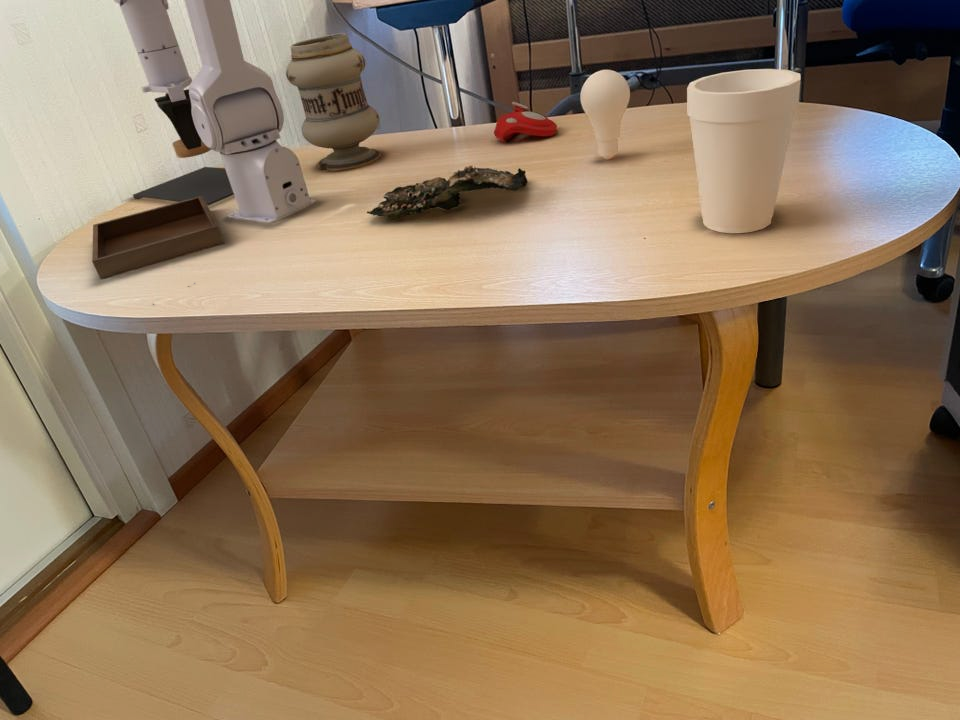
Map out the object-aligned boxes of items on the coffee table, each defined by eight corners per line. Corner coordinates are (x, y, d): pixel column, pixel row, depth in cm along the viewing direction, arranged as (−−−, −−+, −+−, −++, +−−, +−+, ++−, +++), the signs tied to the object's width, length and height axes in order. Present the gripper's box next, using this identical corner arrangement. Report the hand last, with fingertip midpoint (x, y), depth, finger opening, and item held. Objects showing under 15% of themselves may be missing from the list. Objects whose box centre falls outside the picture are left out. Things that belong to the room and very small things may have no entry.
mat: (282, 175, 109) (281, 172, 109) (209, 207, 100) (207, 203, 100) (206, 170, 120) (205, 166, 120) (134, 198, 111) (132, 194, 111)
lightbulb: (639, 152, 92) (636, 63, 86) (621, 167, 88) (617, 75, 82) (596, 151, 95) (591, 65, 90) (577, 165, 91) (570, 77, 85)
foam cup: (757, 246, 63) (766, 96, 56) (668, 230, 69) (666, 92, 62) (806, 211, 68) (820, 69, 61) (719, 198, 74) (723, 68, 67)
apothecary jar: (296, 170, 111) (261, 48, 102) (353, 148, 118) (326, 32, 109) (344, 176, 103) (311, 45, 94) (402, 152, 111) (377, 28, 101)
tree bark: (350, 201, 79) (379, 153, 91) (367, 249, 82) (393, 197, 94) (515, 171, 75) (523, 126, 87) (525, 223, 78) (532, 173, 90)
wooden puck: (218, 148, 108) (214, 134, 106) (190, 158, 104) (185, 145, 103) (198, 147, 110) (194, 134, 109) (170, 157, 107) (165, 144, 106)
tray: (225, 246, 85) (218, 225, 83) (101, 282, 80) (92, 261, 79) (208, 213, 98) (201, 195, 96) (101, 243, 93) (92, 224, 92)
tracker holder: (572, 123, 106) (518, 123, 100) (564, 151, 108) (512, 153, 103) (526, 96, 113) (475, 95, 108) (520, 124, 116) (470, 124, 111)
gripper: (127, 51, 104) (161, 143, 111) (130, 58, 93) (169, 159, 100) (175, 42, 106) (206, 132, 113) (185, 47, 95) (218, 147, 102)
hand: (192, 144), depth 107 cm, fingers closed on wooden puck, 5 cm apart
